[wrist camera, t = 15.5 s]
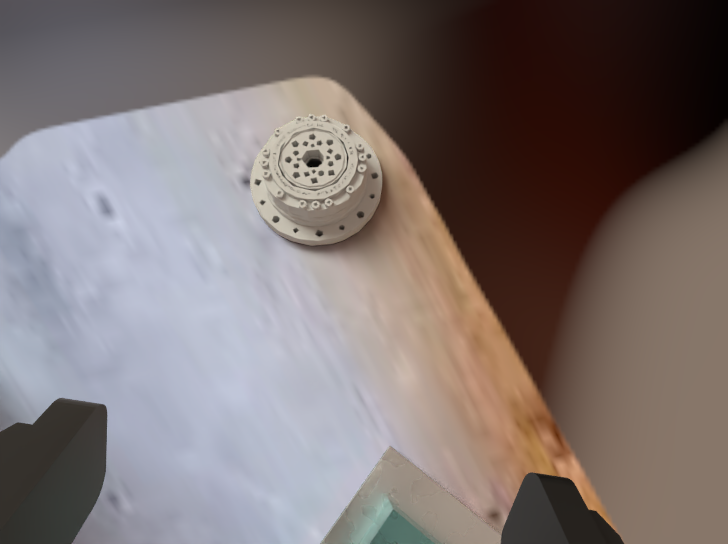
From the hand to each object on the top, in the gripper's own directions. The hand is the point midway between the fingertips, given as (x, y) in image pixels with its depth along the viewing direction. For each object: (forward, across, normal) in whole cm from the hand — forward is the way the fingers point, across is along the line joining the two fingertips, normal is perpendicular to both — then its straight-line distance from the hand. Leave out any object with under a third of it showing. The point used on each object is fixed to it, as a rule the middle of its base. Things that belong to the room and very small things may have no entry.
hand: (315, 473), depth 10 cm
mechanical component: (+32, +2, +2) cm, 32 cm away
